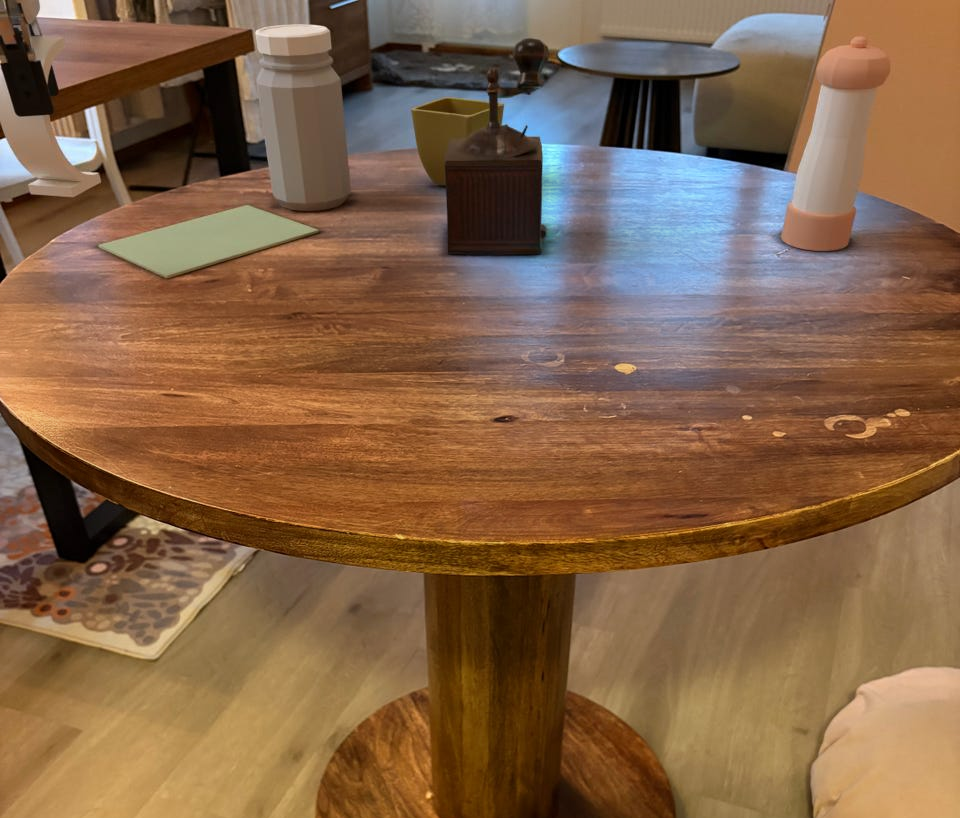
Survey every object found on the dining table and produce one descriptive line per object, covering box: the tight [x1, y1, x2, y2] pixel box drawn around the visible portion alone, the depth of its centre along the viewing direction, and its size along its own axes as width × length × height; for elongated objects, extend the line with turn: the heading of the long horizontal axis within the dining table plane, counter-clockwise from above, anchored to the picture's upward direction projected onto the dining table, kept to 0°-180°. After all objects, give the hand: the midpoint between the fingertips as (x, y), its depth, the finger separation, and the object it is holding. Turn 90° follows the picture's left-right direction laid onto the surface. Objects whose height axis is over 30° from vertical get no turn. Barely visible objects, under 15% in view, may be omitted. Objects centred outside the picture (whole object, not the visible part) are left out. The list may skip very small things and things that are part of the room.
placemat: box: [97, 204, 320, 279], centre depth 103 cm, size 20×14×1 cm
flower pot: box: [410, 96, 505, 187], centre depth 117 cm, size 9×9×9 cm
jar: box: [254, 23, 352, 212], centre depth 108 cm, size 10×10×18 cm
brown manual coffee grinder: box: [445, 37, 550, 255], centre depth 99 cm, size 16×11×18 cm
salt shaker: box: [780, 35, 891, 252], centre depth 96 cm, size 7×7×19 cm
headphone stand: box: [0, 36, 102, 198], centre depth 84 cm, size 5×6×12 cm
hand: (38, 103), depth 83 cm, fingers closed on headphone stand, 7 cm apart
